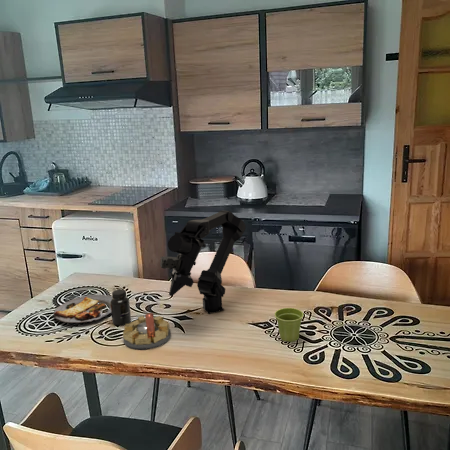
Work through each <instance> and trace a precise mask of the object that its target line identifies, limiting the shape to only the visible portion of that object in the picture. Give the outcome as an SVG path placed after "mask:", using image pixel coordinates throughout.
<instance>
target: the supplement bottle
mask: <svg viewBox="0 0 450 450" xmlns="http://www.w3.org/2000/svg"><path fill="white" fill-rule="evenodd" d="M126 292H127V291H126V290H125V289H116V290H113V291H112V293H111V296H112V298H113V299H112V300H111V302H110V305H111V313H110V314H111V321H112V324H113V325H115V326H119V327H120V326H125V324H129V323H131V322H132V316H131V305H130V303H131V302H130V299H129V298H128V297H127V294H126Z"/></svg>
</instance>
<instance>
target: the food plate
mask: <svg viewBox="0 0 450 450" xmlns="http://www.w3.org/2000/svg"><path fill="white" fill-rule="evenodd" d="M112 299H113V298H112V295H106V294H89V295H83V296H80V297H76V298H75V297H74V298H72V299H69V300H67V301H65V302H64V303H62V304H60V305H59V306H57V307H56V308H54V311H53V314H52V316H53V317H54V319H55V320H57V321H60V322H62V323H64V324H65V323H67V324H82V323H84V324H86V323H87V324H88V323H91V322H93V321H98V320H100V319H102V318H104V317H105V318H106V317H107V316H108V315H110V314H111V305H110V302H111V300H112ZM105 308H108V309H107V311H106V312H105V313H103V311H104V309H105Z"/></svg>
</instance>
